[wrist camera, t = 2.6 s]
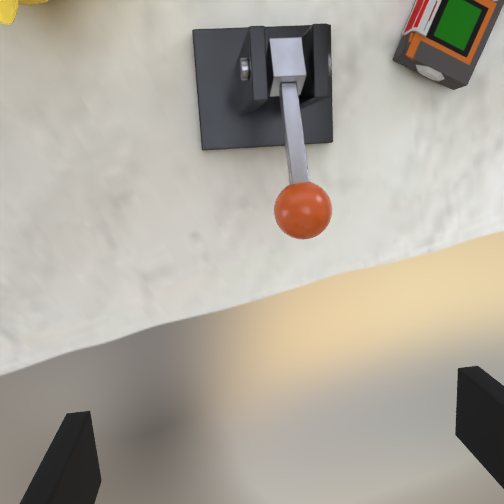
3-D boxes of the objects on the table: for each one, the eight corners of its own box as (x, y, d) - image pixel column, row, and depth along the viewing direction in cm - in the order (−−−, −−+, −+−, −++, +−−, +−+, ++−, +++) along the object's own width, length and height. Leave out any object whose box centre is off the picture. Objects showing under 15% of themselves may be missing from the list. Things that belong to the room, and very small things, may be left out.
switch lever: (327, 242, 30) (342, 228, 26) (274, 246, 29) (281, 233, 26) (304, 64, 32) (314, 30, 29) (254, 66, 32) (258, 32, 29)
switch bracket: (329, 142, 42) (381, 138, 30) (202, 150, 41) (201, 149, 29) (327, 28, 40) (382, -28, 28) (192, 32, 39) (187, -23, 27)
